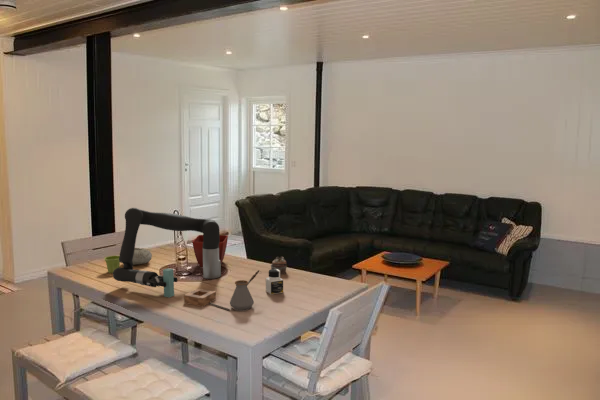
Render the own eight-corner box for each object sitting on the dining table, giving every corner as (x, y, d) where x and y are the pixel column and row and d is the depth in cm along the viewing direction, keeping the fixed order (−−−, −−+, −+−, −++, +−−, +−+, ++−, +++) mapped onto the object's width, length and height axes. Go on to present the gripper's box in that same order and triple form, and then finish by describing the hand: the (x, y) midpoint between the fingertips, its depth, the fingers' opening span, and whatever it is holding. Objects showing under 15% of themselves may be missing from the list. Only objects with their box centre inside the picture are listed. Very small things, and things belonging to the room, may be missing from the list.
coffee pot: (244, 314, 227) (244, 283, 225) (224, 309, 233) (224, 279, 231) (269, 300, 246) (269, 271, 244) (250, 296, 251) (250, 268, 249)
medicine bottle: (271, 294, 254) (270, 272, 252) (265, 290, 260) (265, 268, 258) (283, 292, 257) (283, 270, 255) (277, 288, 263) (277, 267, 262)
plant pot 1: (116, 274, 288) (115, 260, 286) (101, 273, 290) (101, 259, 288) (124, 270, 297) (124, 256, 295) (110, 269, 299) (110, 255, 297)
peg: (168, 294, 254) (167, 268, 252) (174, 295, 252) (173, 269, 250) (164, 296, 251) (163, 270, 249) (169, 297, 249) (168, 270, 247)
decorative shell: (144, 258, 323) (144, 243, 321) (157, 264, 310) (156, 248, 308) (117, 263, 311) (117, 248, 309) (129, 269, 298) (129, 253, 296)
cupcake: (284, 270, 298) (284, 254, 296) (288, 274, 289) (288, 258, 287) (268, 271, 295) (268, 255, 293) (273, 276, 286) (273, 259, 284)
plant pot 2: (223, 268, 300) (223, 241, 298) (192, 268, 301) (191, 241, 298) (228, 260, 319) (228, 235, 317) (199, 260, 320) (198, 234, 317)
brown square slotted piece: (197, 296, 251) (197, 288, 251) (215, 299, 247) (215, 291, 246) (184, 302, 242) (184, 295, 241) (202, 306, 237) (202, 298, 236)
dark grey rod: (208, 304, 240) (208, 302, 240) (210, 303, 241) (209, 302, 240) (229, 311, 231) (228, 309, 231) (230, 310, 232) (230, 308, 232)
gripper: (136, 274, 249) (161, 279, 243) (155, 267, 262) (180, 271, 255) (137, 289, 250) (162, 293, 244) (156, 281, 263) (180, 285, 256)
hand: (171, 282), depth 250 cm, fingers open, 8 cm apart
